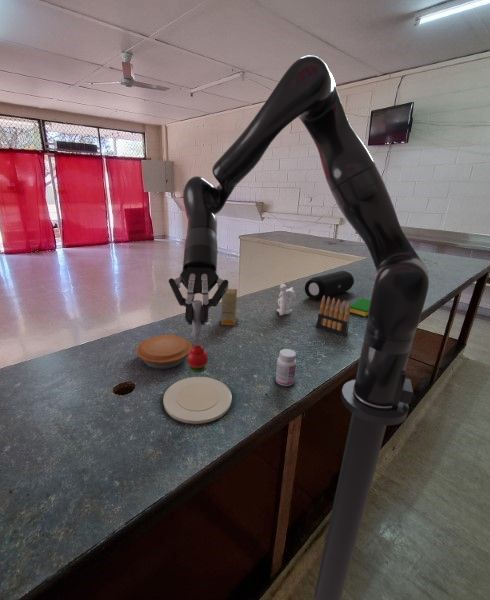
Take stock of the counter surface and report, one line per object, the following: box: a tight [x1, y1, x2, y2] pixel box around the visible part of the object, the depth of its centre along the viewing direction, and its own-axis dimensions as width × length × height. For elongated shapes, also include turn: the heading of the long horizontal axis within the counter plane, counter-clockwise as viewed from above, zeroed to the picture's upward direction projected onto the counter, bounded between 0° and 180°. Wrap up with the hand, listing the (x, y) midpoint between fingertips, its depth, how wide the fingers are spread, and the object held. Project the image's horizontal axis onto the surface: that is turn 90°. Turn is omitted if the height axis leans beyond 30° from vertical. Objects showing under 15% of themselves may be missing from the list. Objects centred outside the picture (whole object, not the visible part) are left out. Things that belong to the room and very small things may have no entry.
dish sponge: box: [350, 297, 371, 317], centre depth 129 cm, size 7×14×2 cm, turn 137°
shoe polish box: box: [220, 288, 238, 327], centre depth 113 cm, size 5×5×12 cm
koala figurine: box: [276, 283, 297, 316], centre depth 123 cm, size 8×7×12 cm
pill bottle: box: [275, 348, 297, 387], centre depth 80 cm, size 5×5×8 cm
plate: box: [162, 376, 233, 425], centre depth 74 cm, size 16×16×1 cm
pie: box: [136, 334, 193, 370], centre depth 90 cm, size 16×16×5 cm
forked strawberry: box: [186, 299, 209, 373], centre depth 68 cm, size 5×5×16 cm
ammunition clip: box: [315, 295, 351, 336], centre depth 109 cm, size 11×2×12 cm, turn 49°
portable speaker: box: [304, 270, 355, 301], centre depth 144 cm, size 26×10×10 cm, turn 127°
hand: (196, 323), depth 65 cm, fingers closed on forked strawberry
